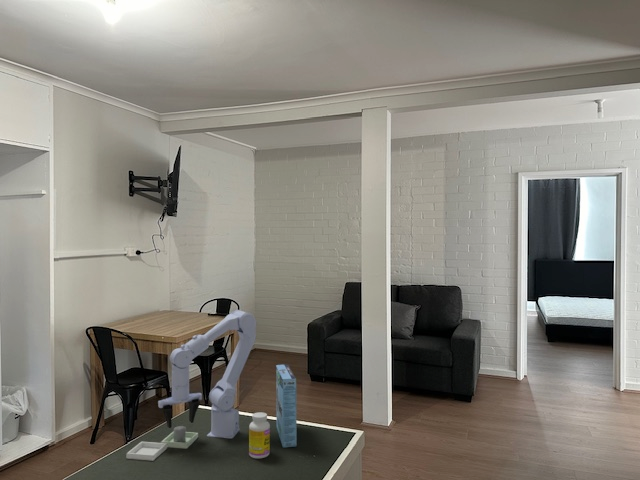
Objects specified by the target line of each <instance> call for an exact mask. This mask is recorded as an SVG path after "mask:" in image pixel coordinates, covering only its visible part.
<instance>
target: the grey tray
mask: <svg viewBox="0 0 640 480" xmlns="http://www.w3.org/2000/svg"><path fill="white" fill-rule="evenodd" d="M167 449H168V447H167V443H161V442H156V441H155V442H154V441H153V442H152V441H140V442H139V443H137V444H136V445H135V446H134V447H132V449H130V450H129V451H127V452H126V453H125V454H126V459H129V460H140V461H153V462H154V461H155V460H156V459H157V458H158V457H159V456H160V455H161V454H163V453H164V452H165V451H166V450H167Z"/></svg>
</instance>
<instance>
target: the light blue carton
mask: <svg viewBox="0 0 640 480" xmlns="http://www.w3.org/2000/svg"><path fill="white" fill-rule="evenodd" d="M275 367H276V368H275V369H276V370H275V372H276V377H275V378H276V382H275V383H276V384H275V385H276V389H275V390H276V393H275V394H276V397H275V398H276V430H277V433H278V436H279V439H280V443H281V446H282V448H292V447H297V431H298V430H297V429H298V428H297V378H296V376H295V375H294V372H293V371H292V369H291V368H290V365H289V364H277V365H275Z"/></svg>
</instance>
